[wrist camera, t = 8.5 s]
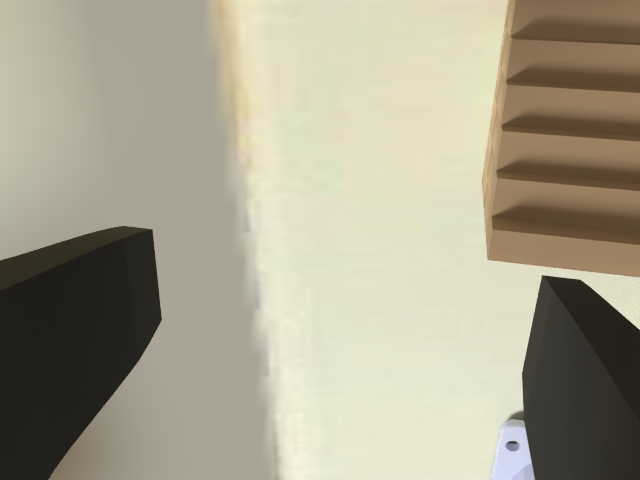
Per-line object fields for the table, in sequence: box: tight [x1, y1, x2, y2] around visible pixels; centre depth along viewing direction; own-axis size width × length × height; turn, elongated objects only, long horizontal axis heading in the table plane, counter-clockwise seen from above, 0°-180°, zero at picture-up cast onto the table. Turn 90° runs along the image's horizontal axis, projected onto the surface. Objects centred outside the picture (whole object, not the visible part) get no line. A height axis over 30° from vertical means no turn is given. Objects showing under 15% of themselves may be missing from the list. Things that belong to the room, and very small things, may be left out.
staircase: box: [482, 0, 640, 277], centre depth 15 cm, size 8×6×6 cm
